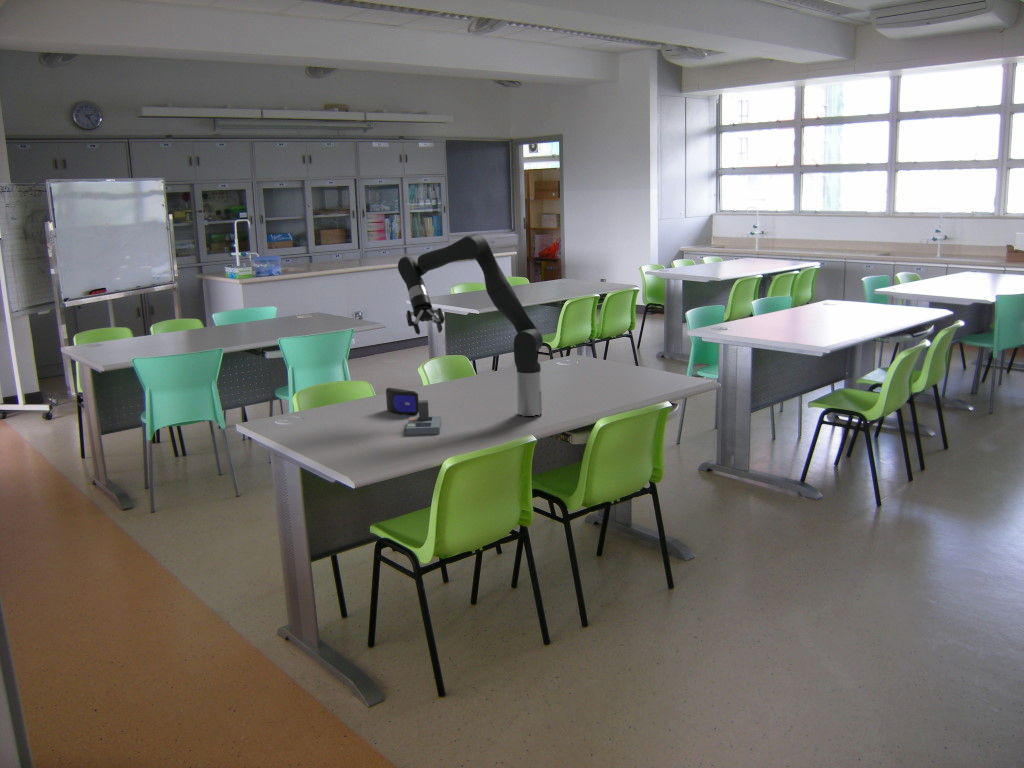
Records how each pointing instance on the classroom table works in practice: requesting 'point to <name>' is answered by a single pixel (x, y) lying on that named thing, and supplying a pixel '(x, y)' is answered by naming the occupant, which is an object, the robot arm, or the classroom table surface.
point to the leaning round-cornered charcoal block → (402, 401)
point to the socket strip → (423, 426)
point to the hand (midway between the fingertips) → (429, 332)
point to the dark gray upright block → (423, 410)
